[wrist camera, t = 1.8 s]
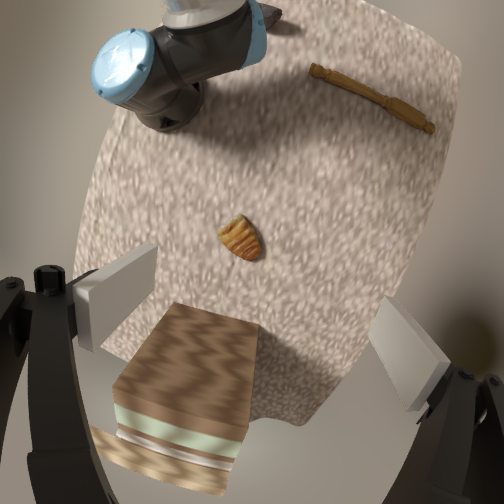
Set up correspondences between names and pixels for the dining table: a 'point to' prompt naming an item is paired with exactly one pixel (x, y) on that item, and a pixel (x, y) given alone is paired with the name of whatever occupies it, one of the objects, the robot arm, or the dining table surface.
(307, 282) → the dining table surface
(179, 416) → the brown wavy patterned box
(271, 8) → the perforated stone tool
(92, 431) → the beech bar
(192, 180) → the dining table surface
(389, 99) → the wooden spindle
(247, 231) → the pastry
